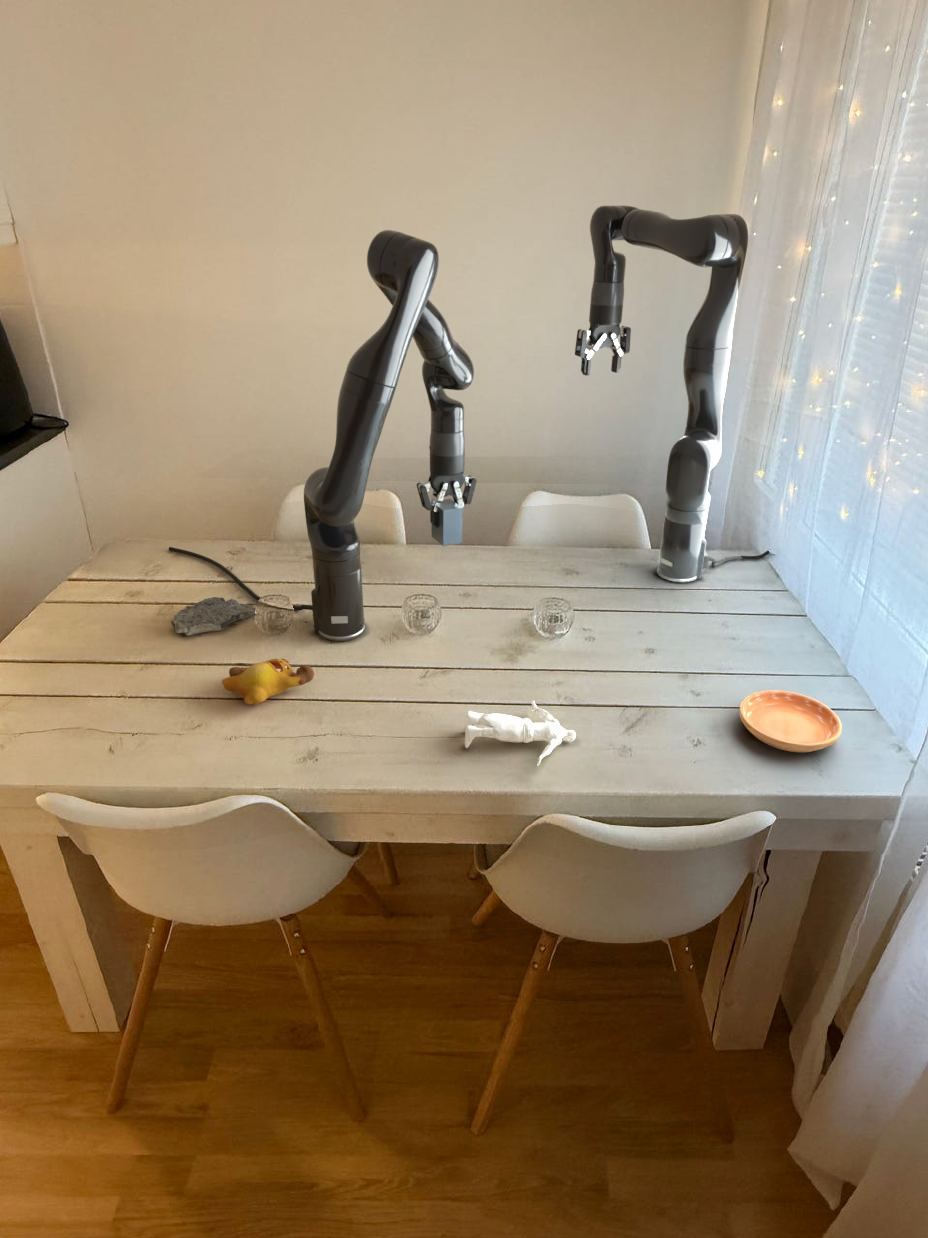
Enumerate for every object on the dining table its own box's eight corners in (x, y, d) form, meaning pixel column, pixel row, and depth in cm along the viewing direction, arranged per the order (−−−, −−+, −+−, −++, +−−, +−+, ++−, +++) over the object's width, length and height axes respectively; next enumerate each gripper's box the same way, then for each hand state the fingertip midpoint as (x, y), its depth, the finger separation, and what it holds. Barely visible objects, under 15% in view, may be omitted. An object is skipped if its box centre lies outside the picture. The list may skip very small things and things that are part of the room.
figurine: (463, 772, 126) (578, 784, 127) (467, 744, 123) (584, 757, 124) (464, 709, 141) (566, 721, 142) (468, 684, 139) (572, 696, 139)
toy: (214, 669, 145) (294, 645, 152) (223, 703, 146) (302, 678, 153) (228, 678, 135) (313, 652, 142) (238, 714, 136) (322, 687, 143)
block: (443, 546, 181) (443, 510, 177) (431, 536, 186) (431, 501, 182) (462, 542, 183) (462, 507, 179) (449, 533, 188) (450, 498, 184)
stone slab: (156, 626, 166) (154, 613, 164) (223, 596, 177) (221, 584, 176) (194, 646, 159) (192, 633, 158) (261, 614, 171) (259, 601, 169)
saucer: (730, 699, 144) (733, 685, 143) (824, 707, 142) (828, 693, 141) (745, 755, 130) (748, 740, 129) (849, 764, 128) (854, 749, 127)
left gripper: (423, 458, 169) (424, 535, 177) (484, 450, 175) (482, 525, 183) (409, 449, 175) (410, 523, 183) (469, 441, 181) (467, 514, 189)
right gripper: (590, 305, 183) (585, 379, 191) (641, 302, 189) (633, 373, 197) (572, 301, 189) (567, 373, 197) (621, 298, 195) (615, 367, 202)
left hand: (446, 523), depth 183 cm, fingers closed on block, 4 cm apart
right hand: (600, 373), depth 197 cm, fingers open, 8 cm apart
